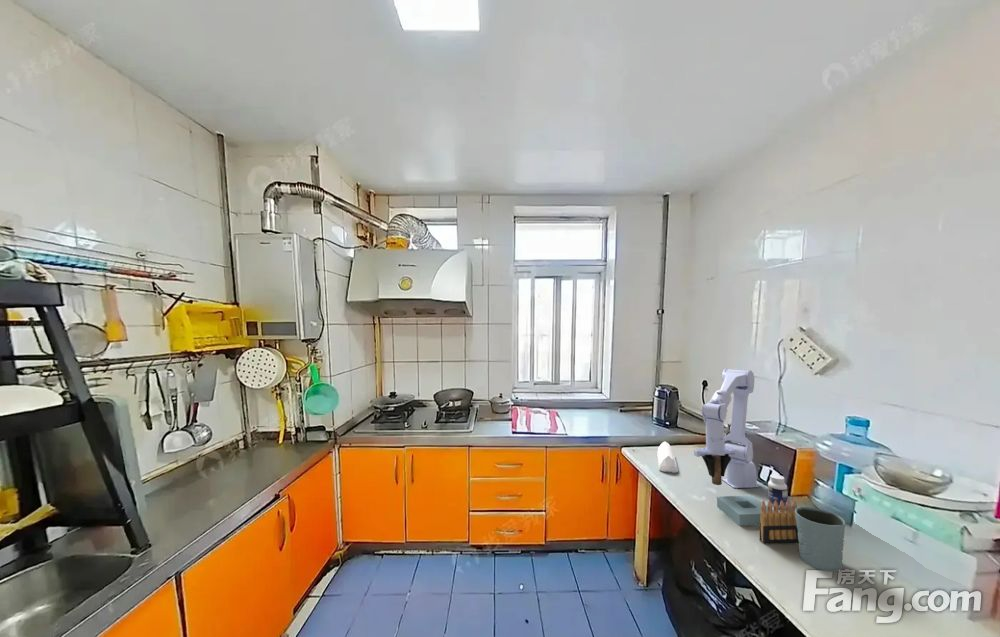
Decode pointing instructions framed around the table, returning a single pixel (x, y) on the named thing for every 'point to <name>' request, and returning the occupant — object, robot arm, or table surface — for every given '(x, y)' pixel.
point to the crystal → (666, 458)
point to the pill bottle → (777, 490)
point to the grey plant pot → (820, 538)
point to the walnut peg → (717, 471)
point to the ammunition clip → (778, 524)
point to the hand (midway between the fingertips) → (716, 475)
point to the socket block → (741, 509)
